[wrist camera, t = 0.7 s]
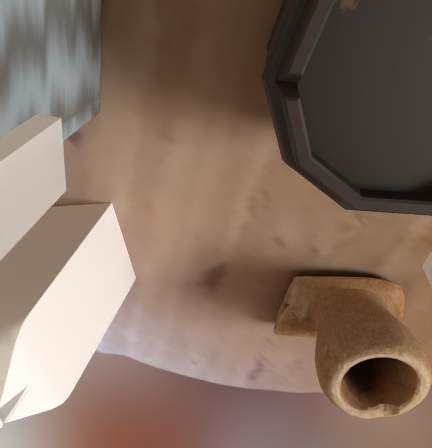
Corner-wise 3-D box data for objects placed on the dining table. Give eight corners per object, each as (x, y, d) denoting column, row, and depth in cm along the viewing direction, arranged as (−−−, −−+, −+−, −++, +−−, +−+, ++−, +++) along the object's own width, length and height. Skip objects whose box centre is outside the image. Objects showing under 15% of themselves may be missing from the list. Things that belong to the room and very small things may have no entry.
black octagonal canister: (546, 17, 31) (737, 53, 18) (369, 175, 40) (412, 274, 27) (387, -160, 27) (487, -278, 14) (229, 60, 36) (201, 113, 23)
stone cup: (414, 260, 45) (465, 371, 33) (390, 332, 52) (426, 448, 39) (279, 251, 47) (280, 353, 34) (273, 322, 53) (271, 430, 41)
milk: (54, 280, 55) (-94, 484, 33) (20, 208, 49) (-187, 400, 27) (136, 278, 52) (35, 496, 31) (111, 202, 46) (-35, 407, 25)
